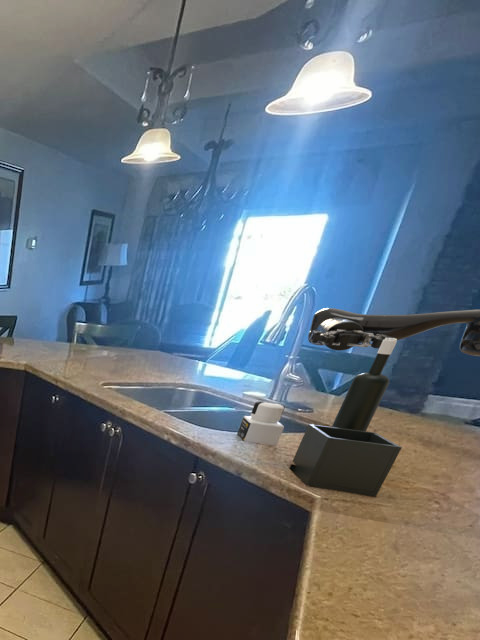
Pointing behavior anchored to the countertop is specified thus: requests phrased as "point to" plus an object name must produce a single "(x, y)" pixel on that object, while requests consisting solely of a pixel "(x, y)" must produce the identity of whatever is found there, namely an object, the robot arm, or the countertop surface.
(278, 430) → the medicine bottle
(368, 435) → the bin
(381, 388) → the wine bottle
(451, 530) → the countertop surface
